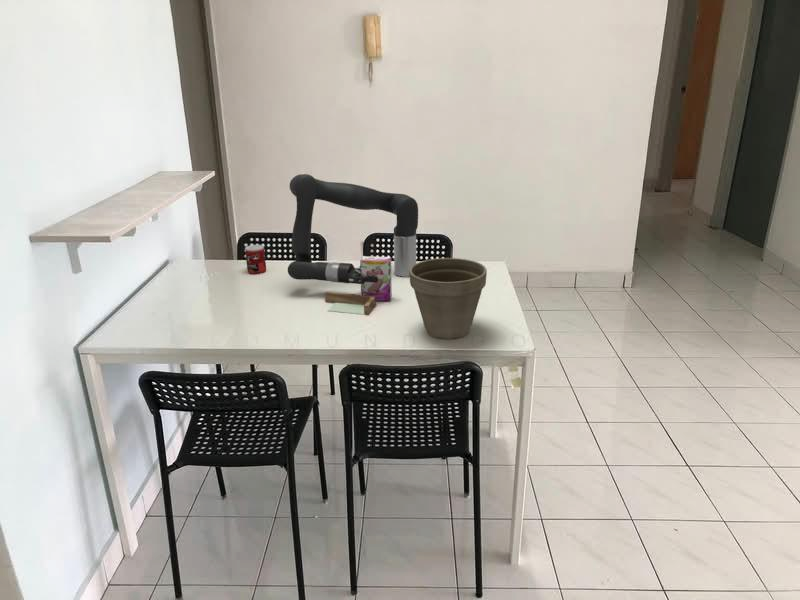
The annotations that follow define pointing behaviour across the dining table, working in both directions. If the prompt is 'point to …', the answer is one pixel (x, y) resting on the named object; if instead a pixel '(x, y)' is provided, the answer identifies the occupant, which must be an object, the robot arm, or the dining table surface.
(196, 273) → the dining table surface
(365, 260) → the candy bar box
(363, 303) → the brown l-shaped piece
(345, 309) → the pad
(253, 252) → the canned food
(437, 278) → the plant pot
